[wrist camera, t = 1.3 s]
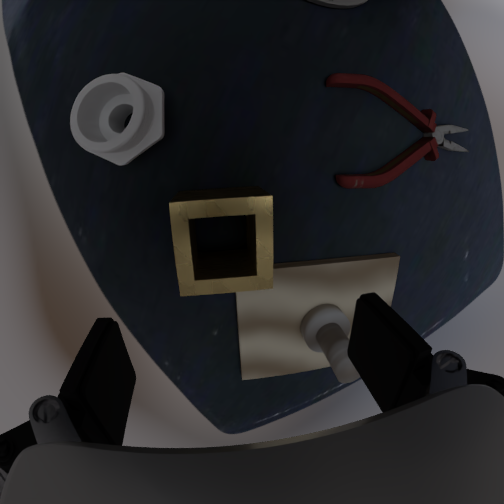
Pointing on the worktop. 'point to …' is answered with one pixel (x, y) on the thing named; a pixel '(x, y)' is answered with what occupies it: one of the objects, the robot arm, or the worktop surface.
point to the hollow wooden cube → (223, 262)
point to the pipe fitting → (118, 117)
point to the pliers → (411, 113)
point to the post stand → (309, 314)
